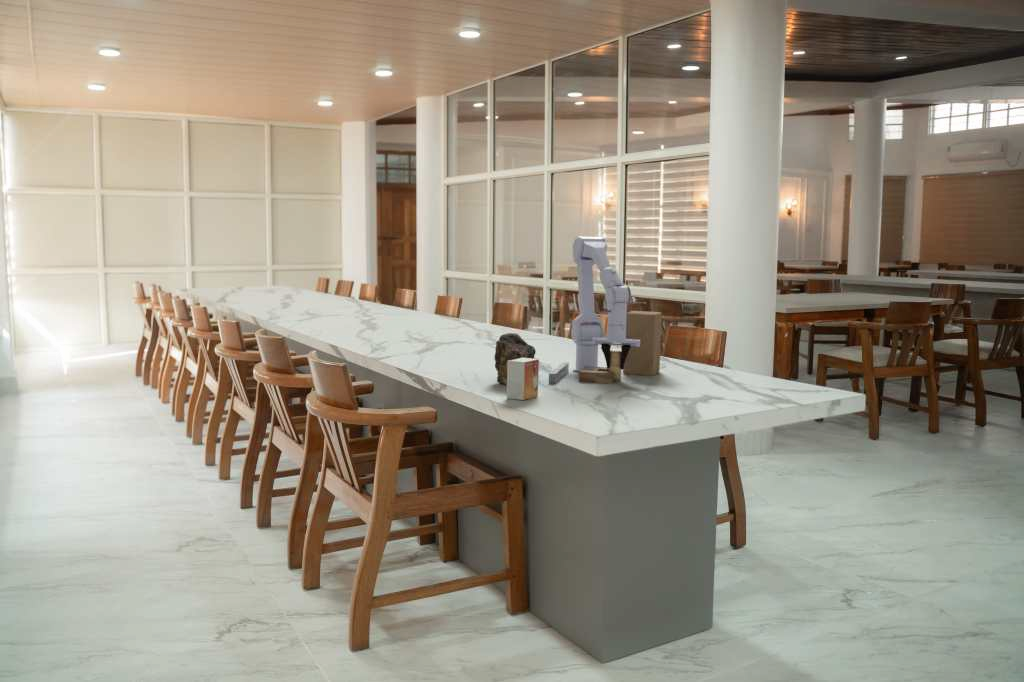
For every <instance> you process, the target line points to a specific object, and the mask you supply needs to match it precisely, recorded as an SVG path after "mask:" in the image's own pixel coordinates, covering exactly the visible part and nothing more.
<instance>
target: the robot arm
mask: <svg viewBox="0 0 1024 682" xmlns="http://www.w3.org/2000/svg"><path fill="white" fill-rule="evenodd" d="M607 250H608V243H607V240H606V238H605V237H604V236H580V235H579V236H576V237H575V239H574V241H573V244H572V258H573V263H575V264H576V265H577V266H576V267H577V268H576V269H577V287H578V288H577V289H578V301H579V302H578V304H579V305H578V306H579V307H578V308H579V309H578V310H579V313H578V315H577V316H576V317H575V318H574V319H572V321H571V329H570V330H571V331H570V336H571V339H572V341H573V342H574V344H576V347H575V367H574V368H573V369H572V372H580V371H581V370H582V369H583V368H584V367H585V366H590V367H599V366H598V363H599V362H598V361H599V359H598V358H599V345H601V346H600V347H601V351H602V354H603V355H604V359H605V362H606V367H607V369H609V368H610V351H611V350H612V349H611V346H620V347H621V351H622V360H621V370H623V369H624V363H625V360H626V357H627V355H628V352H629V350H630V348H631V346H636V347H640V340H634V339H626V318H627V313H628V305H629V304H630V302H631V299H632V292H631V288H630V287H629V285H626V283H623V282H622V279H621V277H620V276H619V273H618V270H617V269H616V268H614V267H611V264H610V261H609V257H608V255H607ZM594 265H596V267H597V268H598V270H599V272H600V273H599V277H598V278H599V280H600V282H601V285H602V287H603V288H604V290H605V294H604V299H605V303H606V305H605V306H606V310H607V329H606V333H607V334H606V336H607V337H605V329H604V326H603V325H604V324H603V320H602V319H601V317H599V316H598V315H597V314H596V313H595V311H596V308H595V292H594V272H593V267H594Z"/></svg>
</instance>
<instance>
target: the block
mask: <svg viewBox="0 0 1024 682" xmlns="http://www.w3.org/2000/svg"><path fill="white" fill-rule="evenodd" d="M609 369H610V368H609ZM609 369H607V366H606V367H604V366H597V367H590V366H585V367H584V368H583V369H582V370H581V371H578V382H579V383H581V382H582V383H598V384H613V382H614V381H613V372H609Z"/></svg>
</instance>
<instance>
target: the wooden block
mask: <svg viewBox="0 0 1024 682" xmlns="http://www.w3.org/2000/svg"><path fill="white" fill-rule="evenodd" d="M662 314H663V313H662V312H660V311H645V310H631V311H627V318H626V339H634V340H640V347H636V346H631V348H630V350H629V352H628V355H627V357H626V360H625V363H624V369H622V374H623V375H632V376H633V375H634V376H647V377H653V376H655V375H657V374H659V373H660V367H661V366H660V365H661V341H662V340H661V338H662V337H661V336H662V316H663V315H662Z"/></svg>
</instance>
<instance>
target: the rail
mask: <svg viewBox="0 0 1024 682" xmlns="http://www.w3.org/2000/svg"><path fill="white" fill-rule="evenodd" d="M569 367H570V362H561V363H560V364H559V365H558V366H556V368H554V369H553V370H552V371H550V373H548V384H553V385H554V384H555V385H556V384H557V383H558V382H559V381H560V380H561V379H562V378H564V377H565V376H566V375H567V374H568V373H569V372H570V371H569V370H570V369H569Z"/></svg>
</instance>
